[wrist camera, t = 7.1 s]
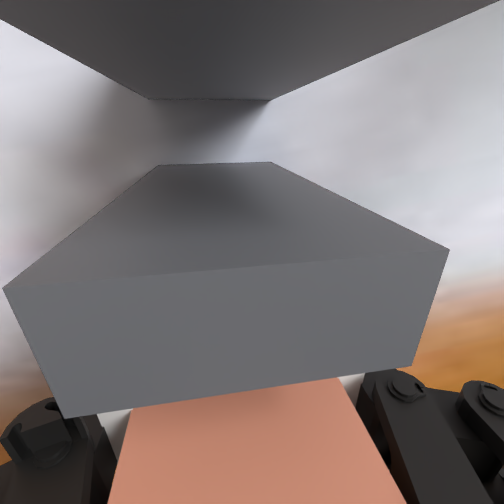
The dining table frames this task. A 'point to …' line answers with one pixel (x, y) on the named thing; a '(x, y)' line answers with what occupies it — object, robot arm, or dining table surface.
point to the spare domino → (253, 451)
